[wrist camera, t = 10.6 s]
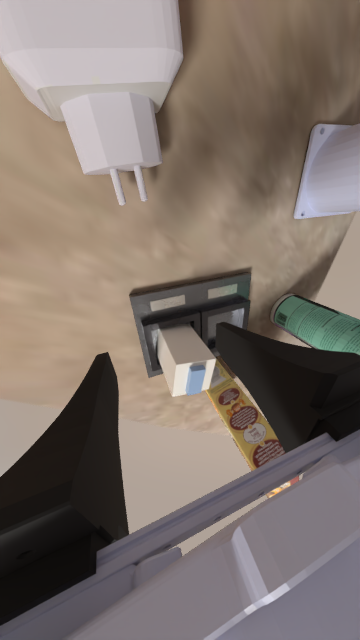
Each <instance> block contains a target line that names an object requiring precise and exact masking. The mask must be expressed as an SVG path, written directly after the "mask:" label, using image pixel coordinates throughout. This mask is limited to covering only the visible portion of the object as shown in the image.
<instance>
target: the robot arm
mask: <svg viewBox="0 0 360 640" xmlns="http://www.w3.org/2000/svg"><path fill="white" fill-rule="evenodd" d="M320 130H321V133H320ZM352 211H360V123H359V124H356V125H354V126H352V125H334V124H317V125H315V126H314V127H313V129H312V131H311V136H310V141H309V145H308V150H307V155H306V159H305V164H304V169H303V174H302V178H301V183H300V188H299V193H298V197H297V202H296V207H295V212H294V218H295V219H303V218H311V217H320V216H329V215H337V214H346V213H350V212H352ZM301 214H302V215H301ZM215 347H216V349H217V350H218V352H219V354H220V355H221V357H222V358H223V360H224V361H225V362H226V363H227V365H228V366H229V367H230V368H231V370H232V371H233V372H234V373H235V374H236V376H237V377H238V378H239V379H240V380H241V382H242V383H243V384H244V385H245V387H246V388H247V389H248V391H249V392H250V394H251V395H252V397H253V398H254V400H255V401H256V403H257V405H258V406H259V408H260V409H261V411H262V413H263V414H264V416H265V417H266V419H267V421H268V423H269V424H270V426H271V428H272V429H273V431H274V433H275V435H276V437H277V438H278V440H279V442H280V444H281V446H282V447H283V449H284V451H285V453H286V454H284V455H282V456H280V457H278V458H276V459H274V460H272V461H270V462H268V463H266V464H265V465H263V466H261V467H259V468H257V469H255V470H253V471H251V472H249V473H247V474H245V475H243V476H241V477H240V478H238V479H236V480H234V481H232V482H230V483H228V484H226V485H224V486H222V487H220V488H218V489H216V490H214V491H213V492H211V493H209V494H207V495H205V496H203V497H201V498H199V499H197V500H195V501H193V502H192V503H189V504H188V505H186V506H184V507H182V508H180V509H178V510H176V511H174V512H172V513H170V514H169V515H166V516H165V517H163V518H161V519H159V520H157V521H155V522H153V523H151V524H149V525H147V526H145V527H143V528H141V529H139V530H137V531H136V532H134V533H132V534H130V535H129V531H128V522H127V514H126V506H125V499H124V489H123V480H122V470H121V460H120V450H119V438H118V404H119V391H118V382H117V376H116V373H115V370H114V367H113V365H112V362H111V359H110V356H109V354H108V352H106V353H103V354H99V355H97V356H96V357H95V359H94V361H93V363H92V365H91V367H90V369H89V371H88V373H87V374H86V376H85V378H84V379H83V381H82V383H81V384H80V386H79V388H78V389H77V391H76V392H75V394H74V395H73V397H72V398H71V400H70V401H69V403H68V404H67V405H66V407H65V408H64V409H63V411H62V412H61V413H60V415H59V416H58V417H57V418H56V420H55V421H54V422H53V423H52V424H51V425H50V427H49V428H48V429H47V430H46V431H45V432H44V434H43V435H42V436H41V437H40V438H39V439H38V440H37V441H36V442H35V443H34V444H33V446H31V448H30V449H29V450H28V451H27V452H26V453H25V454H24V455H23V456H22V457H21V458H20V459H19V460H18V461H17V462H16V463H15V464H14V465H13V466H12V467H11V468H10V469H9V470H8V471H6V472H5V473H4V474H3V475H2V476H1V477H0V640H360V355H358V354H356V353H352V352H340V351H329V350H321V349H314V348H307V347H302V346H297V345H292V344H288V343H284V342H280V341H276V340H273V339H270V338H267V337H264V336H261V335H258V334H255V333H252V332H250V331H247V330H245V329H242V328H240V327H237V326H235V325H232V324H229V323H227V322H221V323H217V324H216V345H215ZM304 472H305V473H304ZM302 473H304V474H303V478H302V479H301V480H300V481H298V482H296V483H294V484H293V485H291V486H289V487H287V488H286V489H284V490H282V491H281V492H279V493H277V494H275V495H274V496H272V497H270V498H268V499H267V500H265V501H264V502H262V503H260V504H259V505H257V506H256V507H254V508H253V509H251V510H250V511H249V512H247V513H246V514H244V515H243V516H241V517H240V518H238V519H237V520H235V521H233V522H232V523H230V524H229V525H227V526H226V527H225V528H223V529H222V530H220V531H219V532H217V533H216V534H214V535H213V536H211V537H210V538H208V539H207V540H206V541H204V542H203V543H201V544H200V545H199V546H197V547H195V548H194V549H192V550H191V551H189V552H188V553H187V554H185V555H184V556H182V553H181V549H180V548H179V547H176V548H173V549H171V548H172V547H174V546H176V545H177V544H179V543H181V542H183V541H185V540H186V539H188V538H190V537H192V536H193V535H195V534H197V533H199V532H200V531H202V530H204V529H206V528H207V527H209V526H211V525H213V524H214V523H216V522H218V521H220V520H221V519H223V518H225V517H227V516H229V515H230V514H232V513H234V512H235V511H237V510H239V509H241V508H242V507H244V506H246V505H248V504H250V503H251V502H253V501H255V500H257V499H258V498H260V497H262V496H263V495H265V494H267V493H269V492H271V491H272V490H274V489H276V488H278V487H279V486H281V485H283V484H285V483H286V482H288V481H290V480H292V479H293V478H295V477H297V476H299V475H300V474H302ZM169 549H170V550H169ZM167 550H168V551H167Z"/></svg>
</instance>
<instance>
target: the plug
mask: <svg viewBox="0 0 360 640" xmlns="http://www.w3.org/2000/svg"><path fill="white" fill-rule="evenodd" d="M156 353H157V356H158V359H159V361H160V364H161V367H162V370H163V373H164V375H165V378H166V381H167V384H168V386H169V389H170V392H171V395H172V397H174V396H179V395H184V394H187V395H193V394H197V393H201V391H202V390H207V389H209V386H210V382H211V378H212V374H213V370H214V366H215V362H216V358H215V356H214V355H213V354H212V353H211V351H210V350H209V349H208V347H207V346H206V345H205V344H204V342H203V341H202V340H201V339H200V337H199V336H198V335H197V333H196V332H195V331H194V330H193V328H192V327H191V326H190V324H178V325H174V326H170V327H166V328H162V329H158V335H157V352H156Z"/></svg>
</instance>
